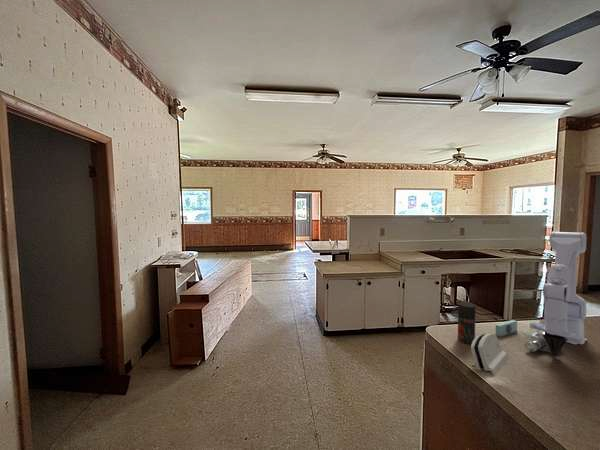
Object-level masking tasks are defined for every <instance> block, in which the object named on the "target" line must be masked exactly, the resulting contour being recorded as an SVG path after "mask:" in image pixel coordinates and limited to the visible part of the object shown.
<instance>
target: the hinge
mask: <svg viewBox="0 0 600 450" xmlns="http://www.w3.org/2000/svg"><path fill="white" fill-rule="evenodd" d="M470 351H471V354H472V358H473V361H474V363H475V368H476V370H478V371H482V370H484V371H486V372H488V371H491V374H492V376H493V377H494V376H496V375H497V374H498V372H499V371H500V370H501V369H502V368H503V366H504V365H505V364H506V363H507V361H508V360H509V359H510V357H509V355H508V352H506V351H505V350H503V348H502V345H501V343H500V341H499V339H498V336H497V335H496V334H495V333H494V334H493V333H482V334H478V335H477V336H475V339H474V340H473V342H472V344H471V346H470Z"/></svg>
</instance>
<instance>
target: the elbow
mask: <svg viewBox="0 0 600 450" xmlns="http://www.w3.org/2000/svg"><path fill="white" fill-rule="evenodd" d="M524 347H525V349H526V350H527V351H528V352H531V353H534V352H537V350H539V349H541V348H544V349H547V350H549V351H550V349H549V346H548V344H547V342H546V340H545V339H544V338H541V337H539V334H538V331H536V332H533V333H530V341H526V342H525V343H524Z"/></svg>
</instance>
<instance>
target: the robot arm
mask: <svg viewBox="0 0 600 450" xmlns="http://www.w3.org/2000/svg"><path fill="white" fill-rule="evenodd" d="M548 239H549V240H548V241H549V245H550V247H551V249H552V250H553V251H554V252H555V254H554V255H555V256H554V257H555V259H554V265H552V266H550V267H549V271H548V275H547V280H546V281H547V282H546V283H544V284H543V287H542V296H543V304H544V324H543V323H538V322H536V321H531V322H529V328H530V329H533V330H534V329H535V330H538V331H544V332H545V334H543V337H544V338H545V340H546V342H547V344H548V346H549V349H550V352H549V353H550V355H551V356H553V357H555V358H556V357H560V353H561V350H562V348H563V346H564V345H565V344H566V343H569V344H572V345H578V344H579V345H584V344H585V343H586V341H588V338H585V322H584V320H585V319H586V318H587V301H586V300H585V299H584V297H581V296H580V295H578V294H577V275H578V274H577V273H578V271H577V270H578V269H577V268H578V257H579V255H580V254H584V253H585V252H586V250H587V234H586V232H576V231H575V232H570V231H569V232H568V231H567V232H566V231H551V232H550V233H549V238H548Z"/></svg>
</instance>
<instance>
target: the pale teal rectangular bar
mask: <svg viewBox="0 0 600 450" xmlns="http://www.w3.org/2000/svg"><path fill="white" fill-rule="evenodd" d="M516 332H518V321H517V320H514V319H511V320H507V321H504V322H501V323H497V324H495V335H496V337H499V336H500V337H503V336H506V334H507V335H509V334H512V333H516ZM502 335H503V336H502Z"/></svg>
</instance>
